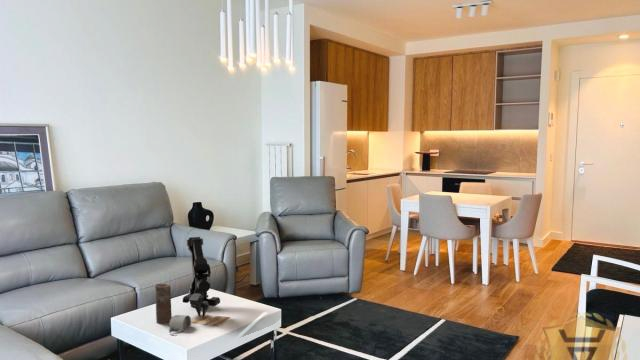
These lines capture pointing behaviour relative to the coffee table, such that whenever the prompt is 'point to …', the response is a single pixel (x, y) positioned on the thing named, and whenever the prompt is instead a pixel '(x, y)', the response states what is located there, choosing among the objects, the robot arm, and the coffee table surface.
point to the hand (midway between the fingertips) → (201, 316)
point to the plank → (201, 319)
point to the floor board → (217, 321)
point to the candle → (163, 303)
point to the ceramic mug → (179, 323)
